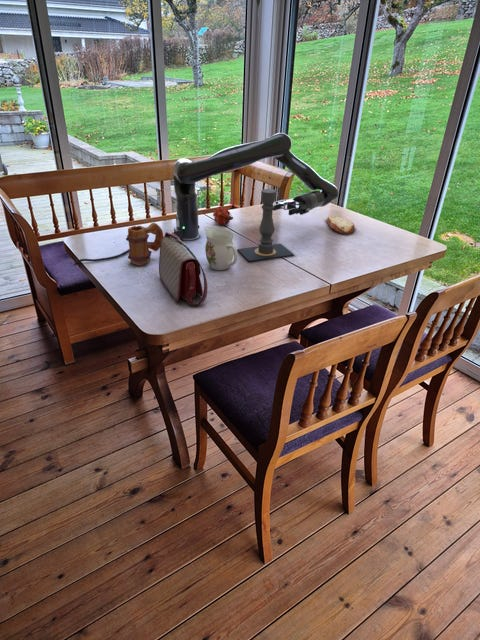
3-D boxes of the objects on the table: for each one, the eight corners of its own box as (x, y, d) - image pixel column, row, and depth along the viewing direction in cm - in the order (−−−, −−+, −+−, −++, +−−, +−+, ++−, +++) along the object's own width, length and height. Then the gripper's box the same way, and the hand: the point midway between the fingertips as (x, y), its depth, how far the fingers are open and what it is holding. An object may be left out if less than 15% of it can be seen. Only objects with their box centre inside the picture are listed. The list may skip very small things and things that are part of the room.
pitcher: (225, 279, 166) (225, 243, 159) (196, 263, 178) (194, 230, 171) (247, 271, 173) (248, 236, 165) (217, 256, 184) (217, 224, 177)
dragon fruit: (217, 222, 226) (228, 232, 218) (205, 214, 220) (216, 225, 212) (227, 207, 224) (239, 218, 216) (215, 199, 218) (227, 210, 210)
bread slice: (329, 218, 229) (330, 211, 227) (363, 225, 220) (364, 218, 218) (313, 227, 216) (313, 220, 214) (347, 236, 207) (349, 228, 205)
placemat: (249, 262, 180) (249, 260, 179) (237, 250, 190) (237, 248, 190) (293, 255, 186) (294, 254, 186) (280, 244, 197) (280, 243, 196)
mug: (131, 268, 173) (127, 231, 165) (125, 261, 179) (121, 224, 171) (167, 262, 179) (165, 225, 171) (161, 255, 185) (158, 219, 177)
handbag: (212, 305, 149) (211, 256, 140) (181, 311, 145) (178, 261, 136) (184, 272, 171) (182, 228, 162) (157, 276, 167) (153, 231, 158)
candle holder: (272, 254, 185) (275, 193, 172) (257, 253, 186) (259, 192, 173) (274, 249, 190) (277, 189, 177) (259, 247, 191) (261, 188, 178)
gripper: (292, 190, 197) (268, 197, 187) (319, 197, 189) (295, 205, 179) (291, 207, 201) (267, 215, 191) (317, 214, 193) (294, 223, 183)
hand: (281, 210), depth 185 cm, fingers open, 8 cm apart
